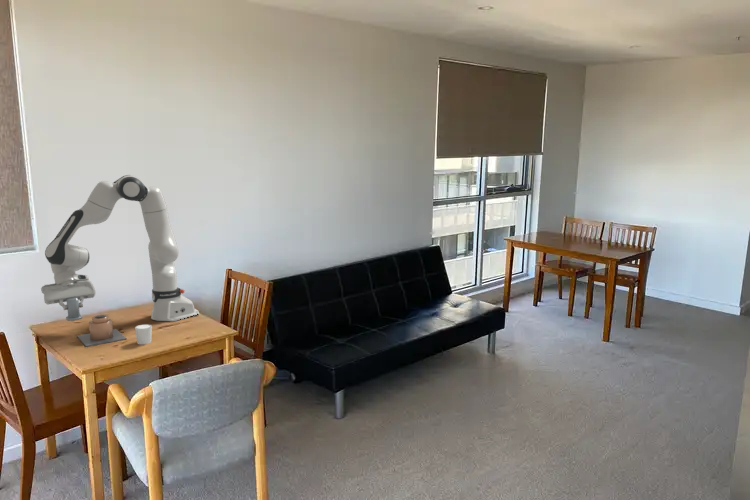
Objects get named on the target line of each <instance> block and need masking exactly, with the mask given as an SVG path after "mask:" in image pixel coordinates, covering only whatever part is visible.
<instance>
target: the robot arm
mask: <svg viewBox="0 0 750 500" xmlns="http://www.w3.org/2000/svg"><path fill="white" fill-rule="evenodd" d="M90 192H91V193H90V195H89V196H88V198H87V200H86V201H85V203H84V205H82V206H81V207H80V208H79V209H77V210H74V211H73V212H72V213H71V214H70V216H69V217H68V219H66V221H65V223H64V225H63V226H62V227H61V228H60V230H59V231H58V233H57V234H56V236H55V238H54V239H53V240H52V241H51V242H50V243H48V244H47V246H46V248H45V251H44V255H45V258H46V260H47V262H48V263H49V264H50V268H51V271H52V273H53V275H54V276H53V279H54V283H49V284H44V285H42V286H41V288H40V289H41V293H42V294H43V302H44V303H45V304H46V305H53V304H59V306H61V307H62V308H63V310H64V311H68V307H67V304H65V303H67V300H66V299H68V298H74V297H77V298H78V301H80V302H79V309H80V308H84V307H83V306H84V305H83V303H84V301H85V300H86V299H91V298H92V299H93V298H94V297H95V296H96V289H95V287H94V284H93V283H92V281H90V280H89V275H86V274H78V273H76V272H77V271H79V270H81V269H83V268H84V267H86V266H87V265H88V264H89V262H90V253H89V251H88V249H87V248H85V247H82V246H77V245H73V244H69V243H70V241H71V239H73V237H74V236H75V234H76V232H77V231H78V230H79V229H81V228H82V227H84V226H89V225H90V226H91V225H98V224H99V225H100V224H101V223H104V222H106V221H107V220H108V219H109V218H110V216H111V214H112V212H113V210H114V207H115V205H116V204H117V202H118V201H119V200H121V199H125V200H126V201H132V202H138V203H139V205H140V208H141V213H142V219H143V222H144V226H145V230H146V233H147V235H148V238H149V242H148V255H149V262H150V269H151V277H152V278H151V279H152V290H151V292H152V293H151V299H152V311H151V316H150V319H151V320H153V321H158V322H177V321H180V319H181V320H184V318H185V319H188V318H187V317H189V318H191V317H190V316H193V315H197V313H198V314H199V315H200V312H199V310H198V309H196V308H195V306H194V303H193V301H192V300H191V299H189V298H187V297H186V296H185V295H184V293H185V292H186V291H185V290H184V289H183V288H179V287H178V282H177V281H178V280H177V279H178V278H177V277H178V276H177V270H176V265H175V261H177V259H178V257H179V254H180V253H179V248H178V245H177V242H176V238H175V235H174V231H173V229H172V225H171V221H170V217H169V212H168V207H167V205H166V201H165V198H164V196H163V193H162V190H161V189H160V188H159V187H156V186H145V184H144V183H143V182H142V181H141V179H140V178H138V177H137V176H135V175H131V174H127V175H123V176H121V177H120V178H118V179H116V180H115V181H114V182H111V181H108V180H107V181H106V180H102V181H98V183H96V185H95V186H94V188H93V189H92V191H90ZM197 316H198V315H197ZM193 317H194V316H193Z"/></svg>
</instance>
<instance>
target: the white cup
mask: <svg viewBox="0 0 750 500" xmlns="http://www.w3.org/2000/svg"><path fill="white" fill-rule="evenodd" d="M152 329H153V325H152V324H139V325H136V326H135V327H134V331H135V337H136V342H137V343H136V344H138V345H141V346H142V345H143V346H144V345H148V344H150V343H151V342H152V337H153V336H152V333H153V332H152Z"/></svg>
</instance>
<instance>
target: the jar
mask: <svg viewBox="0 0 750 500" xmlns="http://www.w3.org/2000/svg"><path fill="white" fill-rule="evenodd" d="M88 327H89V333H84V334H79V335H77V336H76V337H77V338H78V339H79V341H80V342H82V344H83V345H84V346H85V348H88V347H93V346H98V345H104V344H109V343H115V342H119V341H121V342H122V341H126V340H127V337H126V336H125V335H123V333H121V332H120V331H119V330H118V329H117V328H113V319H111V318H109V315H107V314H98V315H93V316H92V317H91V320H89V322H88Z"/></svg>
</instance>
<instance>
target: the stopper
mask: <svg viewBox="0 0 750 500" xmlns="http://www.w3.org/2000/svg"><path fill="white" fill-rule="evenodd" d="M66 300H67V302H66V305H67V307H68V310H67V316H66V317H65V321H69V322H70V321H71V322H73V321H78V320H82V319H83V314H81V313H80V308H79V303H80V302H79V301H80V300H78V298H77V297H74V298H68V299H66Z"/></svg>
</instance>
